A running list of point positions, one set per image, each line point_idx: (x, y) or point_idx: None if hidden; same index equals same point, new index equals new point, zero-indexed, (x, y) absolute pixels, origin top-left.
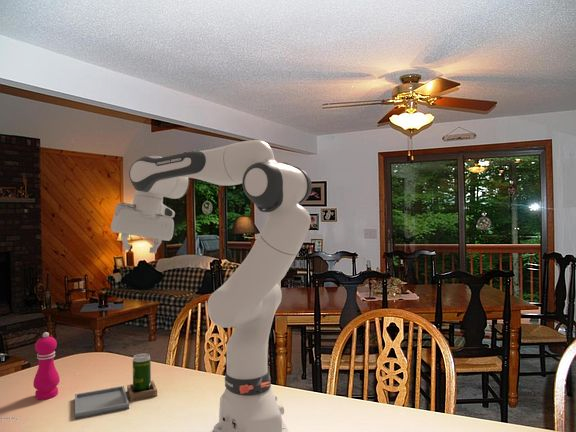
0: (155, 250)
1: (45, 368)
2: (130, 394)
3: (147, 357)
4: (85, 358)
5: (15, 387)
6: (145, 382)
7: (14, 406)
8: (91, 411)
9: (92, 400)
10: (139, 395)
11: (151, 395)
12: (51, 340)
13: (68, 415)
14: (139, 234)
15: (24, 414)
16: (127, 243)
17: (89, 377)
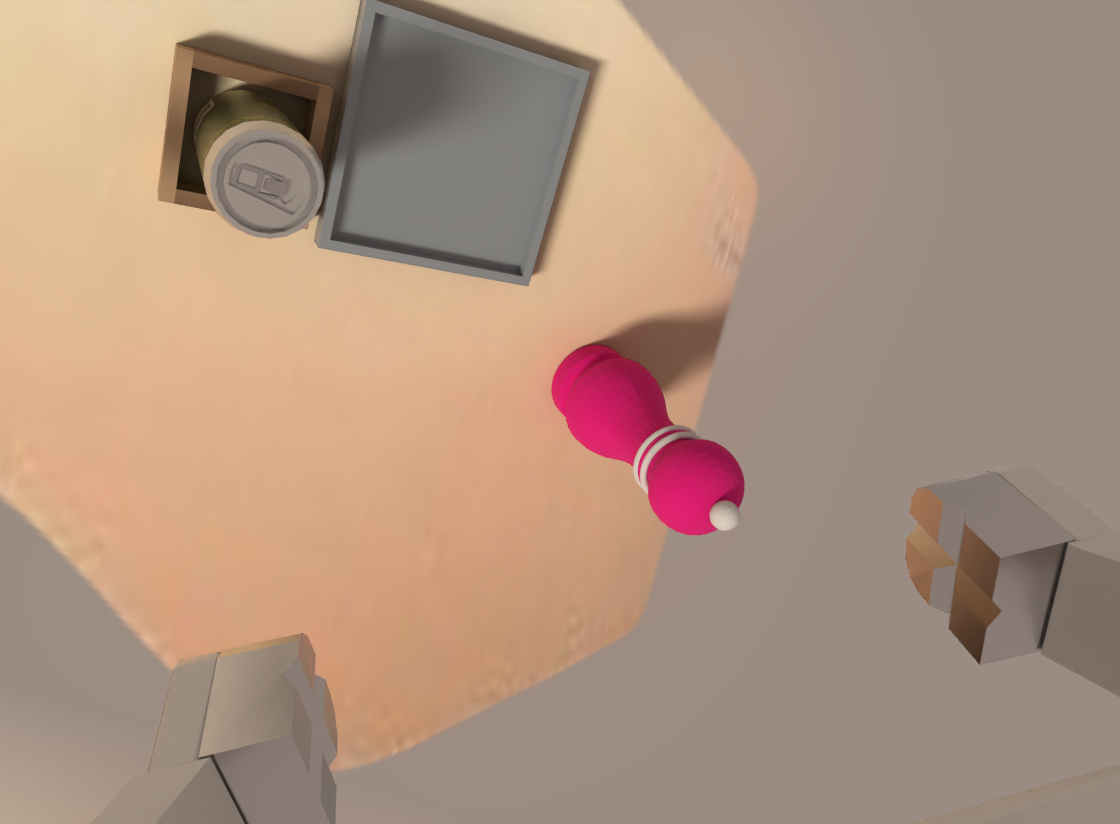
0: (209, 691)
1: (657, 410)
2: (332, 89)
3: (238, 135)
4: (353, 709)
5: (642, 515)
6: (244, 99)
7: (692, 344)
8: (529, 51)
9: (478, 197)
10: (281, 74)
11: (211, 54)
12: (699, 476)
13: (587, 127)
14: (1085, 807)
15: (691, 251)
16: (1101, 536)
17: (402, 485)
